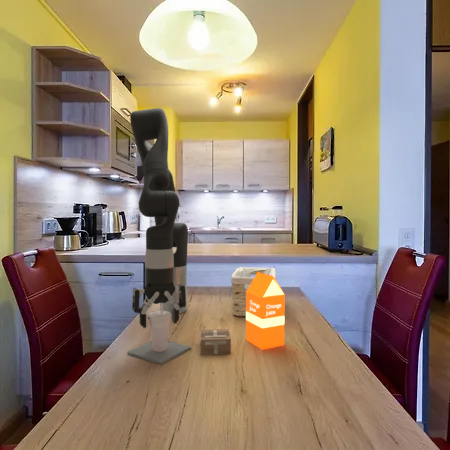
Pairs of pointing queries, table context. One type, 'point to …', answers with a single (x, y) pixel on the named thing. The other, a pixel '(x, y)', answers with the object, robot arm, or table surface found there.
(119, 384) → the table surface
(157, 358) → the slate pad
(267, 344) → the orange juice
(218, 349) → the lettered block
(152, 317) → the smoothie
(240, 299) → the storage basket
